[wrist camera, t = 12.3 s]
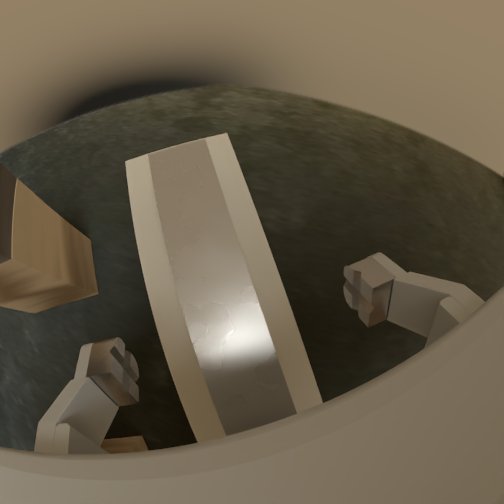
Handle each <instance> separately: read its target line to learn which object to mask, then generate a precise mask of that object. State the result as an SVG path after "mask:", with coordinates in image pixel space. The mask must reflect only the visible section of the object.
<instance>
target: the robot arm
mask: <svg viewBox="0 0 504 504" xmlns="http://www.w3.org/2000/svg"><path fill="white" fill-rule="evenodd" d="M344 277H345V278H346V279H347V280H346V282H345V284H344V285H343V289H344V296H345V299H346V301H347V303H348V305H349V306H350V307H351V308H352V309H354V310H357V311H359V313H358V317H359V318H360V319H361V320H362V321H363V322H364V324H365V325H366V326H367V327H371V326H373V325H375V324H377V323H379V322H382V321H384V320H386V319H387V320H388V321H390V322H392V323H395V324H397V325H399V326H402V327H404V328H406V329H408V330H411V331H413V332H415V333H418V334H420V335H422V336H424V337H427V338H428V339H427V341H426V344H425V347H424V349H423V350H421V351H420V352H418V353H417V354H415V355H413V356H412V357H410V358H409V359H407V360H405V361H404V362H402V363H400V364H399V365H397V366H395V367H394V368H392V369H390V370H389V371H387V372H385V373H383V374H381V375H380V376H378V377H376V378H374V379H372V380H370V381H368V382H366V383H365V384H363V385H361V386H359V387H357V388H355V389H353V390H351V391H348V392H346V393H344V394H342V395H340V396H338V397H336V398H333V399H331V400H329V401H327V402H324V403H322V404H320V405H317V406H315V407H313V408H310V409H308V410H305V411H303V412H300V413H297V414H295V415H292V416H289V417H287V418H284V419H281V420H278V421H275V422H272V423H269V424H266V425H263V426H260V427H257V428H254V429H250V430H247V431H243V432H240V433H236V434H232V435H229V436H225V437H221V438H217V439H212V440H208V441H203V442H199V443H194V444H189V445H183V446H177V447H171V448H165V449H158V450H150V451H141V452H131V453H117V454H110V453H109V452H107V451H106V450H104V449H103V448H101V447H100V446H101V444H102V442H103V440H104V438H105V435H106V433H107V431H108V429H109V427H110V425H111V423H112V421H113V419H114V417H115V415H116V413H117V411H118V409H119V406H124V405H129V404H134V403H139V387H138V386H137V385H136V384H135V382H136V381H137V379H138V378H139V370H138V366H137V362H136V360H135V358H134V356H133V355H132V354H131V353H130V352H128V351H126V350H125V344H124V342H123V341H122V340H121V338H118V337H116V338H112V339H107V340H103V341H98V342H94V343H90V344H85V345H83V346H82V347H81V350H80V354H79V358H78V363H77V367H76V372H75V377H74V380H70V382H69V383H68V384H67V386H66V387H65V388H64V389H63V391H62V392H61V393H60V395H59V396H58V397H57V399H56V400H55V401H54V402H53V404H52V405H51V406H50V408H49V409H48V410H47V412H46V413H45V415H44V416H43V417H42V419H41V420H40V421H39V423H38V428H37V435H36V442H35V449H34V452H33V451H25V450H18V449H11V448H6V447H0V504H504V285H503V286H502V287H501V288H500V289H499V290H498V291H497V292H496V293H495V294H494V295H493V296H492V297H490V298H489V299H488V300H487V301H486V302H484V301H483V300H482V299H481V298H480V297H478V296H477V295H476V294H475V293H474V292H472V291H471V290H470V289H469V288H467V287H466V286H465V285H463V284H459V283H455V282H451V281H447V280H443V279H439V278H435V277H431V276H426V275H422V274H418V273H414V272H408V273H407V272H405V271H404V270H403V269H402V268H400V267H399V266H398V265H397V264H395V263H394V262H393V261H392V260H390V259H389V258H388V257H386V256H385V255H384V254H383V253H379V252H378V253H376V254H373V255H371V256H368V257H367V258H364V259H362V260H359V261H356V262H354V263H351V264H349V265H346V266H345V267H344Z"/></svg>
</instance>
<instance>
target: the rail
mask: <svg viewBox="0 0 504 504" xmlns="http://www.w3.org/2000/svg"><path fill="white" fill-rule="evenodd" d="M148 158H149V164H150V170H151V176H152V182H153V187H154V193H155V198H156V203H157V208H158V213H159V218H160V223H161V227H162V232H163V236H164V241H165V245H166V249H167V254H168V258H169V262H170V266H171V270H172V274H173V278H174V281H175V285H176V289H177V293H178V296H179V300H180V303H181V307H182V310H183V314H184V317H185V321H186V324H187V327H188V331H189V334H190V337H191V340H192V343H193V346H194V350H195V353H196V356H197V359H198V362H199V365H200V368H201V370H202V373H203V376H204V379H205V382H206V385H207V387H208V390H209V393H210V396H211V398H212V401H213V404H214V406H215V409H216V411H217V414H218V417H219V419H220V422H221V424H222V426H223V429H224V431H225V434H226V436H229V435H232V434H236V433H240V432H243V431H247V430H250V429H254V428H257V427H260V426H263V425H266V424H269V423H272V422H275V421H278V420H281V419H284V418H287V417H289V416H292V415H295V414H297V412H296V409H295V406H294V403H293V400H292V398H291V395H290V392H289V389H288V386H287V383H286V380H285V377H284V374H283V372H282V369H281V366H280V363H279V360H278V357H277V354H276V351H275V348H274V345H273V342H272V339H271V336H270V334H269V331H268V328H267V325H266V322H265V319H264V316H263V313H262V310H261V307H260V304H259V301H258V298H257V295H256V292H255V289H254V286H253V283H252V280H251V277H250V274H249V271H248V268H247V265H246V262H245V259H244V256H243V253H242V250H241V247H240V244H239V241H238V238H237V235H236V232H235V229H234V226H233V223H232V220H231V217H230V214H229V211H228V207H227V204H226V201H225V198H224V195H223V192H222V189H221V186H220V183H219V180H218V177H217V174H216V170H215V167H214V164H213V161H212V158H211V155H210V152H209V149H208V146H207V142H206V139H202V140H198V141H194V142H190V143H186V144H182V145H179V146H175V147H172V148H168V149H165V150H161V151H158V152H155V153H151V154H148Z"/></svg>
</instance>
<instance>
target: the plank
mask: <svg viewBox="0 0 504 504" xmlns="http://www.w3.org/2000/svg"><path fill="white" fill-rule="evenodd" d="M203 139H206V142H207V146H208V149H209V152H210V155H211V158H212V161H213V164H214V167H215V170H216V174H217V177H218V180H219V183H220V186H221V189H222V192H223V195H224V198H225V201H226V204H227V207H228V211H229V214H230V217H231V220H232V223H233V226H234V229H235V232H236V235H237V238H238V241H239V244H240V247H241V250H242V253H243V256H244V259H245V262H246V265H247V268H248V271H249V274H250V277H251V280H252V283H253V286H254V289H255V292H256V295H257V298H258V301H259V304H260V307H261V310H262V313H263V316H264V319H265V322H266V325H267V328H268V331H269V334H270V336H271V339H272V342H273V345H274V348H275V351H276V354H277V357H278V360H279V363H280V366H281V369H282V372H283V374H284V377H285V380H286V383H287V386H288V389H289V392H290V395H291V398H292V400H293V403H294V406H295V409H296V412H297V413H300V412H303V411H305V410H308V409H310V408H313V407H315V406H317V405H320V404H322V403H323V402H322V399H321V396H320V392H319V389H318V386H317V383H316V380H315V377H314V374H313V371H312V368H311V365H310V362H309V359H308V356H307V353H306V350H305V347H304V344H303V342H302V339H301V336H300V333H299V330H298V327H297V324H296V321H295V318H294V315H293V312H292V309H291V307H290V304H289V301H288V298H287V295H286V292H285V289H284V287H283V284H282V281H281V278H280V275H279V272H278V270H277V267H276V264H275V261H274V258H273V256H272V253H271V250H270V247H269V244H268V242H267V239H266V236H265V233H264V231H263V228H262V225H261V222H260V220H259V217H258V214H257V211H256V209H255V206H254V203H253V201H252V198H251V195H250V192H249V190H248V187H247V184H246V182H245V179H244V176H243V174H242V171H241V168H240V166H239V163H238V160H237V158H236V155H235V153H234V150H233V147H232V145H231V142H230V139H229V137H228V134H227V133H225V134H220V135H216V136H211V137H207V138H203ZM199 140H202V139H199ZM195 141H198V140H195ZM191 142H194V141H191ZM187 143H190V142H187ZM183 144H186V143H183ZM180 145H182V144H180ZM176 146H179V145H176ZM172 147H175V146H172ZM172 147H169V148H172ZM165 149H168V148H165ZM165 149H162V150H165ZM159 151H161V150H159ZM155 152H158V151H155ZM155 152H152V153H155ZM149 154H151V153H149ZM125 164H126V173H127V182H128V190H129V198H130V205H131V211H132V218H133V224H134V230H135V236H136V241H137V246H138V252H139V257H140V262H141V266H142V271H143V275H144V280H145V284H146V289H147V293H148V297H149V301H150V305H151V309H152V312H153V316H154V320H155V323H156V327H157V331H158V334H159V337H160V341H161V344H162V347H163V351H164V354H165V357H166V360H167V363H168V366H169V369H170V372H171V375H172V378H173V381H174V384H175V387H176V389H177V392H178V395H179V398H180V400H181V403H182V405H183V408H184V411H185V413H186V416H187V418H188V421H189V423H190V426H191V428H192V430H193V433H194V435H195V437H196V440H197V442H198V443H199V442H203V441H208V440H212V439H217V438H221V437H225V436H226V434H225V431H224V429H223V426H222V424H221V422H220V419H219V417H218V414H217V411H216V409H215V406H214V404H213V401H212V398H211V396H210V393H209V390H208V387H207V385H206V382H205V379H204V376H203V373H202V370H201V368H200V365H199V362H198V359H197V356H196V353H195V350H194V346H193V343H192V340H191V337H190V334H189V331H188V327H187V324H186V321H185V317H184V314H183V310H182V307H181V303H180V300H179V296H178V293H177V289H176V285H175V281H174V278H173V274H172V270H171V266H170V262H169V258H168V254H167V249H166V245H165V241H164V236H163V232H162V227H161V223H160V218H159V213H158V208H157V203H156V198H155V193H154V187H153V182H152V176H151V170H150V164H149V158H148V154H146V155H143V156H140V157H136V158H133V159H131V160H128V161H125Z"/></svg>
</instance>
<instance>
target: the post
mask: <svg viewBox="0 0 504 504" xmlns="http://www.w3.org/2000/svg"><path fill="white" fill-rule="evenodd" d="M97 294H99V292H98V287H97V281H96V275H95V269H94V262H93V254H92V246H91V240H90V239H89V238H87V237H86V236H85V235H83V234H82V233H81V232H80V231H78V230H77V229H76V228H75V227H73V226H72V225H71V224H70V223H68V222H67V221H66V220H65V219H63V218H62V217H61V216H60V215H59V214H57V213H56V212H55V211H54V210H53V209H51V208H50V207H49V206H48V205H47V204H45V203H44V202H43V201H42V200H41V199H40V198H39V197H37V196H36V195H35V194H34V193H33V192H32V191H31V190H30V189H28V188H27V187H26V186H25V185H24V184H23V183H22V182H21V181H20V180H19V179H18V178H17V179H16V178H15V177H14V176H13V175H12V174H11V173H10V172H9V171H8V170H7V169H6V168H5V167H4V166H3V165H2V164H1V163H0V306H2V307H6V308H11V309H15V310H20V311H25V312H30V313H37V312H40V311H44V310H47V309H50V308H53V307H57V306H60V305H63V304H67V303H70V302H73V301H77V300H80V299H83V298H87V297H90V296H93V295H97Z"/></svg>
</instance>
